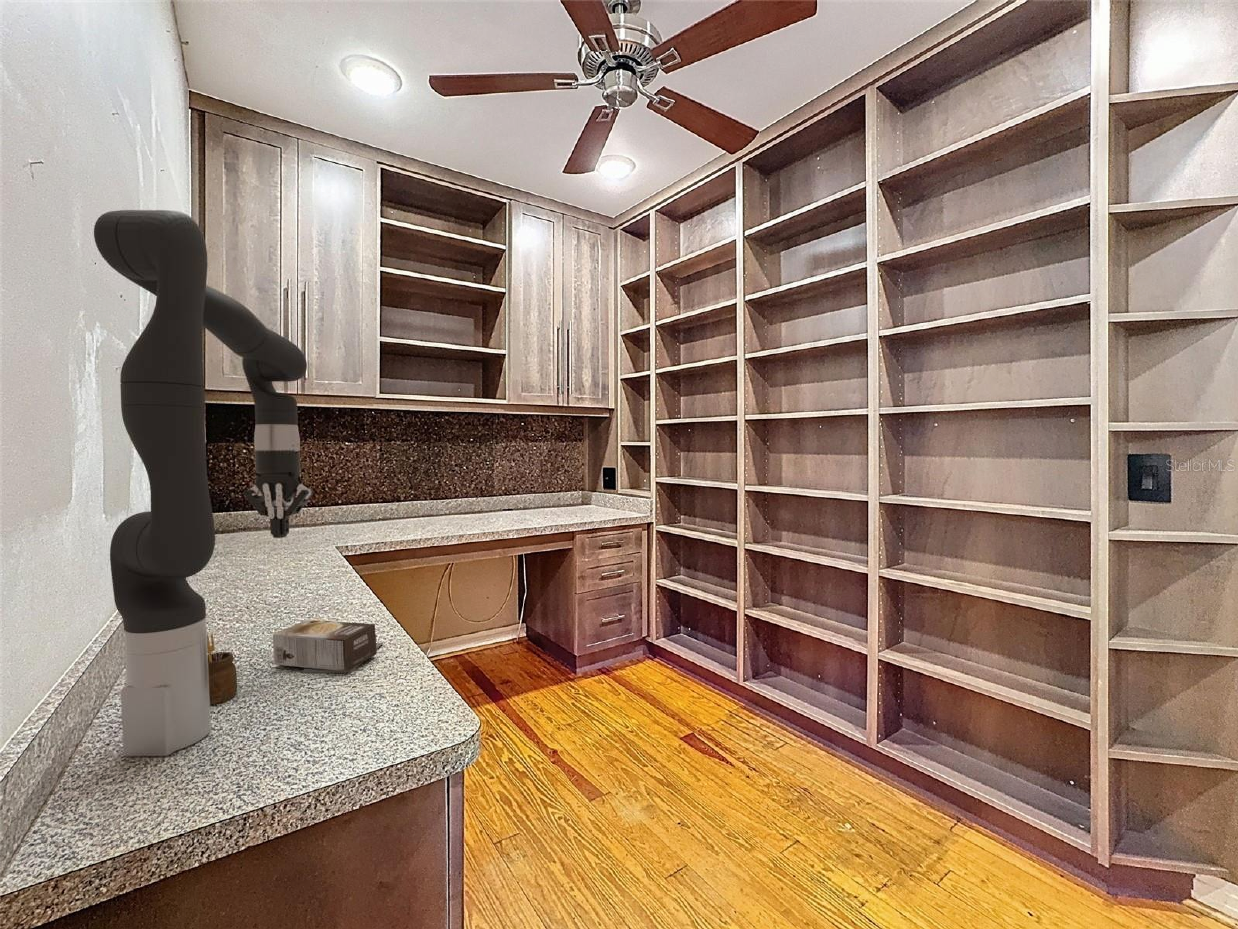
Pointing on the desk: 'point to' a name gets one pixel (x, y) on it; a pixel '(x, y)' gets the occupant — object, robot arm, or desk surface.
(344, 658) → the coffee box
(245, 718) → the desk surface
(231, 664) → the utensil holder
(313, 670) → the grey flat board
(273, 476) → the robot arm
